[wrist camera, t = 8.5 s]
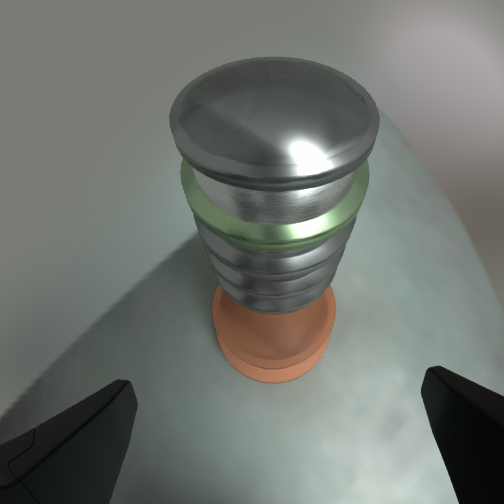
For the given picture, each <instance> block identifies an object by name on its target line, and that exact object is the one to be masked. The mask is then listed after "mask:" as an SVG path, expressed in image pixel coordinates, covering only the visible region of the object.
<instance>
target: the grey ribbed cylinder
mask: <svg viewBox="0 0 504 504" xmlns="http://www.w3.org/2000/svg"><path fill="white" fill-rule="evenodd" d="M169 117H170V118H169V119H170V127H171V131H172V134H173V137H174V141H175V144H176V147H177V149H178V151H179V152H180V154H181V156H182V157H183V160H182V164H181V182H182V186H183V189H184V193H185V195H186V198H187V201H188V204H189V206H190V208H191V210H192V212H193V214H194V219H195V222H196V226H197V228H198V231H199V234H200V236H201V238H202V240H203V242H204V246H205V249H206V252H207V255H208V258H209V260H210V262H211V264H212V267H213V270H214V273H215V276H216V279H217V281H218V283H219V284H220V286H221V288H222V289H223V290H224V292H225V293H226V294H227V295H228V296H229V297H230V298H231V299H232V300H233V301H235V302H236V303H237V304H239V305H241V306H242V307H244V308H247V309H249V310H251V311H254V312H258V313H263V314H271V315H279V314H288V313H292V312H296V311H298V310H301V309H303V308H305V307H307V306H309V305H311V304H312V303H314V302H315V301H316V300H318V299H319V298H320V297H321V296H322V295H323V294H324V292H325V291H326V290H327V289H328V287H329V285H330V284H331V282H332V280H333V277H334V275H335V272H336V270H337V266H338V264H339V263H340V260H341V258H342V255H343V252H344V250H345V247H346V243H347V241H348V239H349V237H350V235H351V232H352V229H353V227H354V224H355V221H356V215H357V213H358V211H359V209H360V207H361V205H362V202H363V200H364V197H365V194H366V191H367V187H368V184H369V165H368V161H367V158H368V156H369V155H370V153H371V151H372V149H373V146H374V143H375V139H376V136H377V132H378V129H379V121H380V117H379V112H378V109H377V106H376V104H375V102H374V100H373V99H372V97H371V95H370V94H369V93H368V92H367V91H366V90H365V89H364V88H363V87H362V86H361V85H360V84H358V83H357V82H356V81H355V80H353V79H352V78H351V77H349V76H347V75H346V74H344V73H342V72H340V71H338V70H336V69H333V68H331V67H329V66H326V65H323V64H320V63H316V62H313V61H308V60H303V59H297V58H289V57H258V58H251V59H244V60H239V61H235V62H231V63H228V64H225V65H222V66H219V67H216V68H214V69H212V70H210V71H208V72H206V73H204V74H202V75H200V76H199V77H197V78H196V79H194V80H193V81H192V82H190V83H189V84H188V85H187V86H186V87H185V88H184V89H183V90H182V91H181V92H180V93H179V95H178V96H177V97H176V99H175V101H174V102H173V105H172V107H171V111H170V116H169Z"/></svg>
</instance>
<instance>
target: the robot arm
mask: <svg viewBox="0 0 504 504" xmlns="http://www.w3.org/2000/svg"><path fill="white" fill-rule="evenodd" d="M421 396H422V399H423V402H424V406H425V409H426V412H427V416H428V419H429V423H430V426H431V429H432V433H433V435H434V438H435V440H436V443H437V445H438V448H439V450H440V453H441V455H442V458H443V461H444V463H445V466H446V469H447V471H448V474H449V477H450V479H451V482H452V485H453V488H454V491H455V493H456V496H457V499H458V502H459V504H504V396H502V395H500V394H498V393H496V392H493V391H491V390H489V389H487V388H485V387H483V386H481V385H479V384H477V383H475V382H473V381H470V380H468V379H466V378H464V377H462V376H460V375H458V374H456V373H454V372H452V371H450V370H448V369H446V368H444V367H442V366H434V367H429V368H428V369H427V370H426V373H425V377H424V380H423V384H422V387H421ZM137 405H138V404H137V398H136V395H135V392H134V389H133V386H132V384H131V382H130V381H128V380H121V379H118V380H115V381H114V382H112V383H111V384H109V385H107V386H106V387H104V388H102V389H101V390H99V391H97V392H95V393H94V394H92V395H90V396H89V397H87V398H85V399H84V400H82V401H80V402H79V403H77V404H75V405H73V406H72V407H70V408H68V409H66V410H65V411H63V412H61V413H60V414H58V415H56V416H54V417H53V418H51V419H49V420H47V421H45V422H44V423H42V424H40V425H38V426H37V427H36V428H33V429H31V430H29V431H28V432H26V433H24V434H22V435H20V436H18V437H16V438H14V439H12V440H10V441H8V442H5V443H3V444H1V445H0V504H109V502H110V499H111V496H112V493H113V490H114V487H115V484H116V481H117V478H118V475H119V472H120V469H121V466H122V463H123V461H124V458H125V455H126V452H127V449H128V446H129V442H130V437H131V433H132V428H133V424H134V419H135V415H136V411H137Z"/></svg>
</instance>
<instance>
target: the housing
mask: <svg viewBox="0 0 504 504" xmlns="http://www.w3.org/2000/svg"><path fill="white" fill-rule="evenodd" d="M335 313H336V305H335V298H334V294H333V291H332V288H331V286H330V285H329V287H328V289H327V290H326V291H325V292H324V294H323V295H322V296H321V297H320V298H319V299H318V300H316V301H315V302H314V303H312V304H311V305H309V306H307V307H305V308H303V309H301V310H298V311H296V312H292V313H288V314H279V315H271V314H263V313H258V312H254V311H251V310H249V309H247V308H244V307H242V306H241V305H239V304H237V303H236V302H235V301H233V300H232V299H231V298H230V297H229V296H228V295H227V294H226V293H225V292H224V290H223V289H222V288H221V286H220V284H218V286H217V288H216V291H215V293H214V298H213V304H212V316H213V322H214V325H215V328H216V331H217V337H218V342H219V345H220V348H221V350H222V352H223V354H224V355H225V357H226V358H227V360H228V361H229V362H230V363H231V365H232V366H233V367H234V368H235V369H236V370H238V371H239V372H240V373H242V374H243V375H245V376H246V377H248V378H251V379H253V380H256V381H259V382H265V383H282V382H287V381H290V380H293V379H296V378H298V377H300V376H301V375H303V374H305V373H306V372H307V371H309V370H310V369H311V368H312V367H313V366H314V365H315V364H316V363H317V362H318V360H319V359H320V358H321V356H322V355H323V353H324V351H325V349H326V347H327V344H328V341H329V337H330V332H331V330H332V327H333V324H334V320H335Z"/></svg>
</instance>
